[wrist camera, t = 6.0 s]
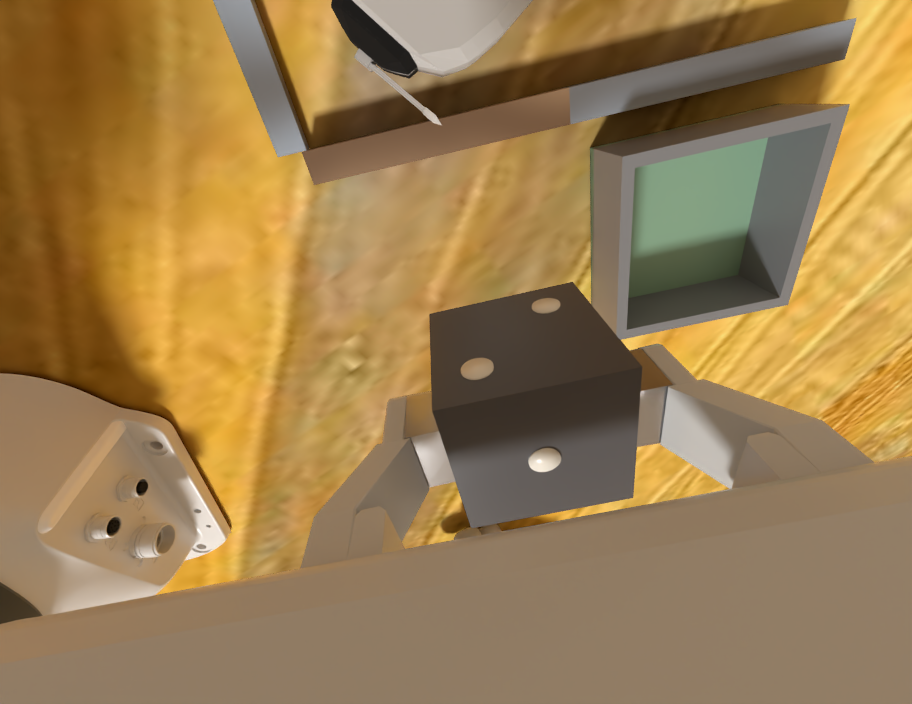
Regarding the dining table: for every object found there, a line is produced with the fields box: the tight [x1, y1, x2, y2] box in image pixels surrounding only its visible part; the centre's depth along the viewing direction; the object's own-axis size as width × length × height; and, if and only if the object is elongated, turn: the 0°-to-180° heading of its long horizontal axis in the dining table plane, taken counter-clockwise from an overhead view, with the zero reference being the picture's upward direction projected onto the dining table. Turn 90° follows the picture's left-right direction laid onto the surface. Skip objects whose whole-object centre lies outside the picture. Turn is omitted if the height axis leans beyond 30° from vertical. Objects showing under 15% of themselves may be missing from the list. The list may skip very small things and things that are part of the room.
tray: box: [590, 104, 850, 340], centre depth 22 cm, size 10×10×4 cm
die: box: [430, 282, 642, 528], centre depth 10 cm, size 4×4×4 cm
